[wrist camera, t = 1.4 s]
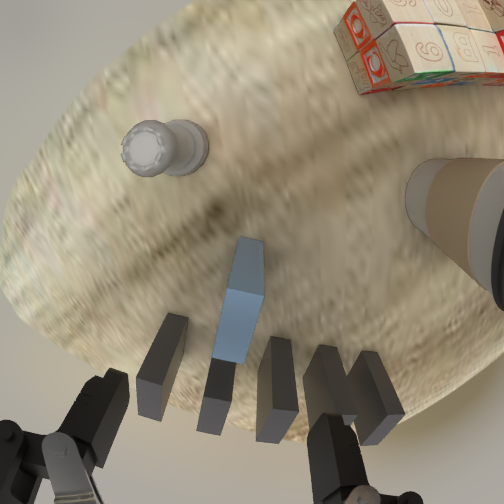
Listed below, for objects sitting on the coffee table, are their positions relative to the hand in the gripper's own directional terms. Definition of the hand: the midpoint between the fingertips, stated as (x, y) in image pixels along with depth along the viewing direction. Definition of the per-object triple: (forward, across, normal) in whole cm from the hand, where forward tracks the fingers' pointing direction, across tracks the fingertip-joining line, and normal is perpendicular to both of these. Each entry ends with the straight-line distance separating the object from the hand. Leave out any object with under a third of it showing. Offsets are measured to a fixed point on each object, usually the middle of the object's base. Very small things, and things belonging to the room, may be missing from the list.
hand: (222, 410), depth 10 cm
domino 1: (+15, +5, +9) cm, 18 cm away
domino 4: (+15, -10, +9) cm, 20 cm away
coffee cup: (+15, -15, -10) cm, 24 cm away
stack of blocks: (+15, -13, -24) cm, 31 cm away
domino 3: (+15, -5, +9) cm, 18 cm away
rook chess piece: (+15, +7, -8) cm, 19 cm away
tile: (+15, 0, 0) cm, 15 cm away
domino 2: (+15, 0, +9) cm, 18 cm away
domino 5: (+15, -15, +9) cm, 23 cm away
